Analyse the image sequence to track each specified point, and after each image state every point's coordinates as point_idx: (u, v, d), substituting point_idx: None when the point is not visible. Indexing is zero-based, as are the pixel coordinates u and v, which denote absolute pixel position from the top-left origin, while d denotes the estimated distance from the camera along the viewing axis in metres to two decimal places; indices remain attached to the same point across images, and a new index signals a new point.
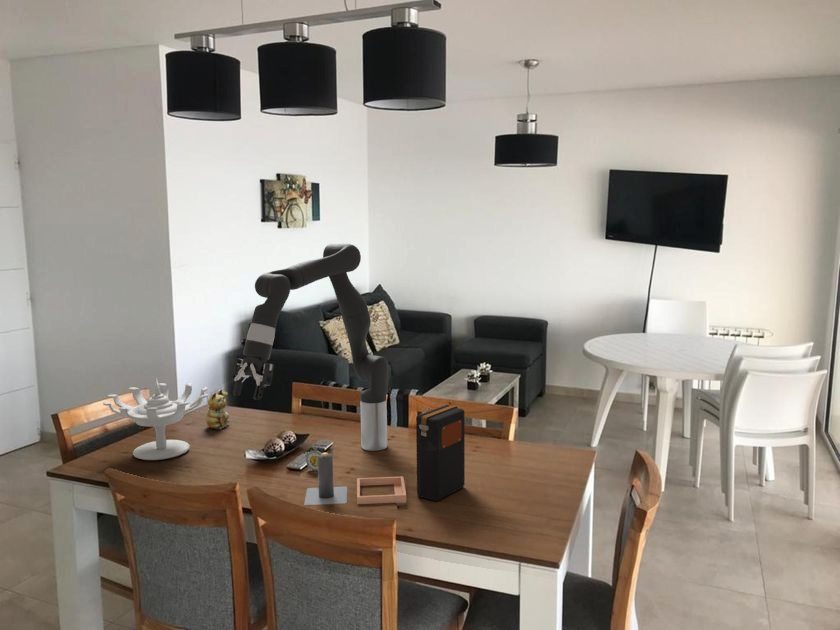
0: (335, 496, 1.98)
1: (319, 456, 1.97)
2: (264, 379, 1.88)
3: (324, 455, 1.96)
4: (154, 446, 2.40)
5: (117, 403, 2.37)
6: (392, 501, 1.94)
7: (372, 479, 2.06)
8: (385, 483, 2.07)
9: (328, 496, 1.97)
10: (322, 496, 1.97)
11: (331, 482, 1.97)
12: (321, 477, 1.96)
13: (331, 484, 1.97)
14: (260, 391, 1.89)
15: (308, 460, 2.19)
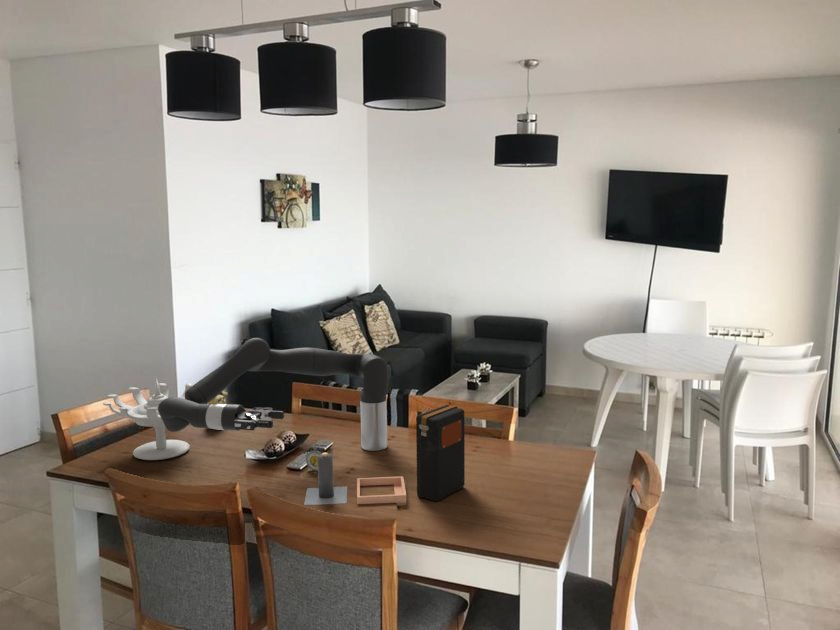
0: (335, 496, 1.98)
1: (319, 456, 1.97)
2: None
3: (324, 455, 1.96)
4: (154, 446, 2.40)
5: (117, 403, 2.37)
6: (392, 501, 1.94)
7: (372, 479, 2.06)
8: (385, 483, 2.07)
9: (328, 496, 1.97)
10: (322, 496, 1.97)
11: (331, 482, 1.97)
12: (321, 477, 1.96)
13: (331, 484, 1.97)
14: (263, 425, 1.91)
15: (308, 460, 2.18)
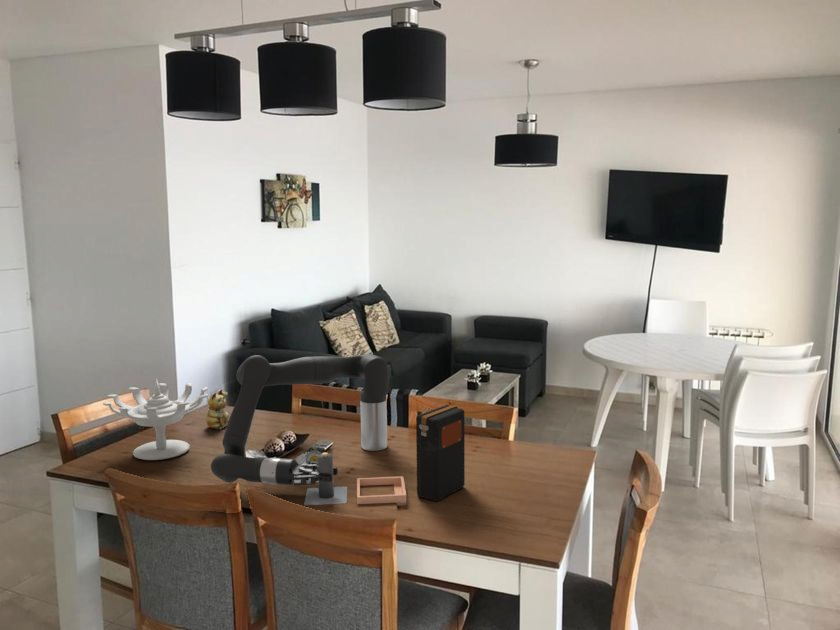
0: (335, 496, 1.98)
1: (319, 456, 1.97)
2: None
3: (324, 455, 1.96)
4: (154, 446, 2.40)
5: (117, 403, 2.37)
6: (392, 501, 1.94)
7: (372, 479, 2.06)
8: (385, 483, 2.07)
9: (328, 496, 1.97)
10: (322, 496, 1.97)
11: (331, 482, 1.97)
12: None
13: (331, 484, 1.97)
14: (323, 479, 1.95)
15: (308, 460, 2.18)
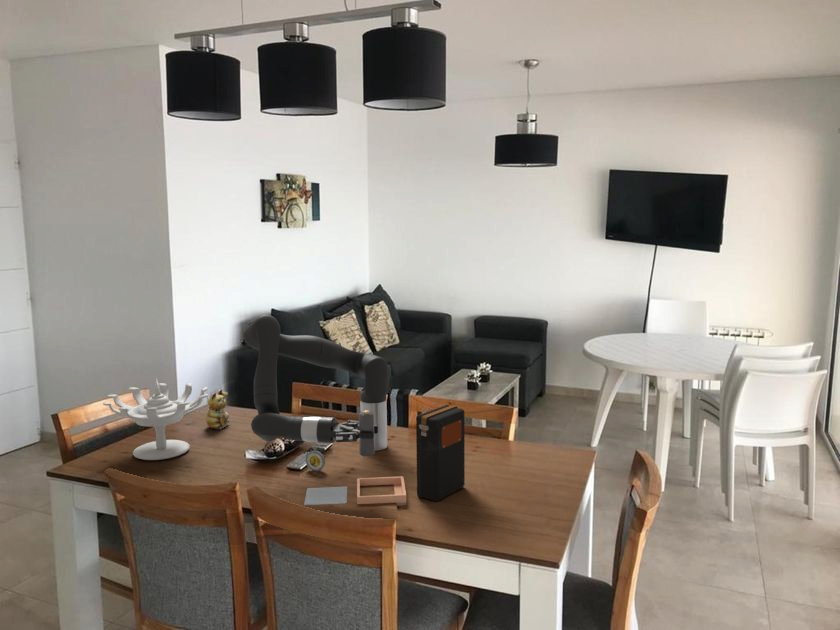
0: (335, 496, 1.98)
1: (360, 414, 1.96)
2: None
3: (365, 412, 1.96)
4: (154, 446, 2.40)
5: (117, 403, 2.37)
6: (392, 501, 1.94)
7: (372, 479, 2.06)
8: (385, 483, 2.07)
9: (369, 454, 1.96)
10: (363, 454, 1.96)
11: (372, 440, 1.96)
12: None
13: (373, 441, 1.97)
14: (364, 436, 1.94)
15: (308, 460, 2.18)
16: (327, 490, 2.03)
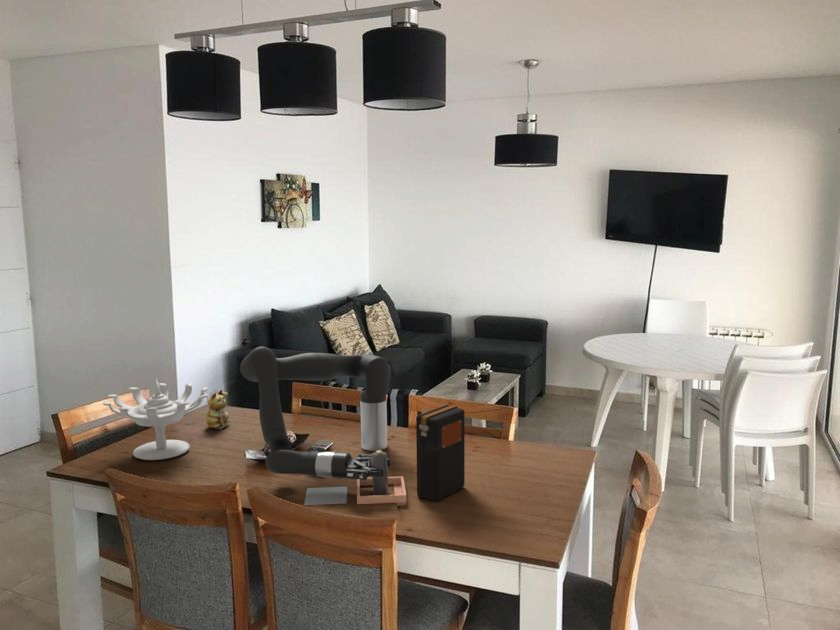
0: (335, 496, 1.98)
1: (373, 454, 1.99)
2: None
3: (378, 453, 1.98)
4: (154, 446, 2.40)
5: (117, 403, 2.37)
6: (392, 501, 1.94)
7: (372, 479, 2.06)
8: None
9: (383, 494, 1.98)
10: (377, 494, 1.98)
11: (386, 480, 1.99)
12: None
13: (386, 481, 1.99)
14: (375, 475, 1.94)
15: None
16: (327, 490, 2.03)
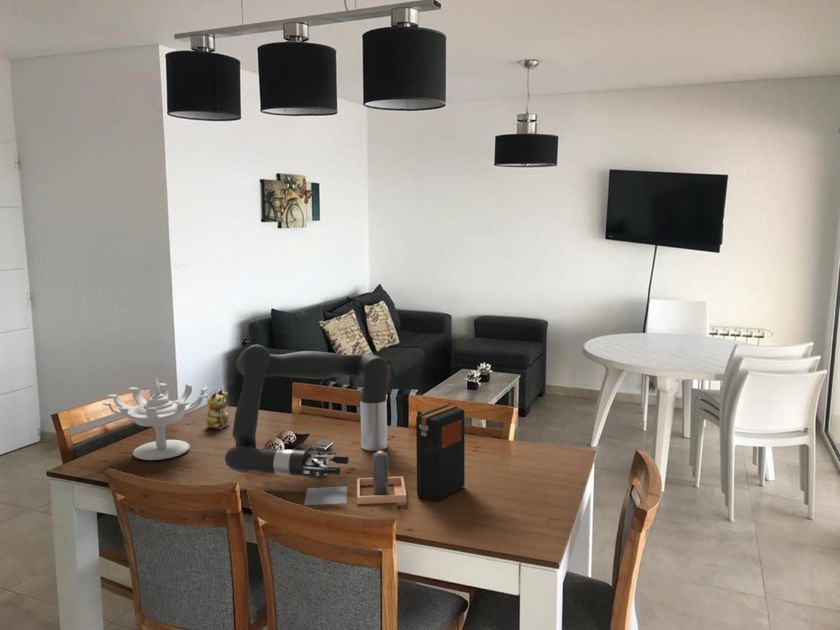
0: (335, 496, 1.98)
1: (374, 454, 1.99)
2: None
3: (379, 453, 1.98)
4: (154, 446, 2.40)
5: (117, 403, 2.37)
6: (392, 501, 1.94)
7: (372, 479, 2.06)
8: None
9: (383, 494, 1.98)
10: (377, 494, 1.98)
11: (386, 480, 1.99)
12: (377, 475, 1.98)
13: (386, 482, 1.99)
14: (331, 472, 1.96)
15: None
16: (327, 490, 2.03)
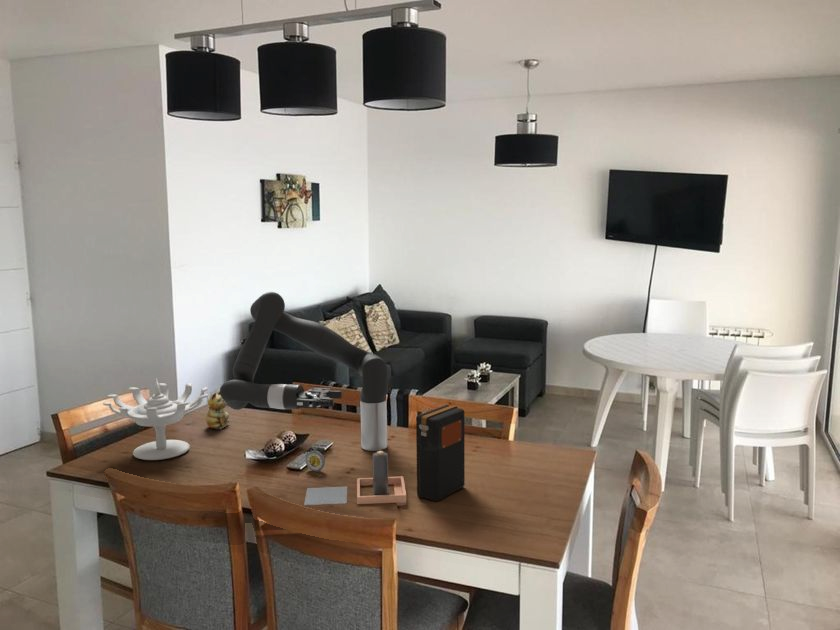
0: (335, 496, 1.98)
1: (374, 454, 1.98)
2: None
3: (380, 453, 1.98)
4: (154, 446, 2.40)
5: (117, 403, 2.37)
6: (392, 501, 1.94)
7: (372, 479, 2.06)
8: None
9: (383, 494, 1.98)
10: (377, 494, 1.98)
11: (386, 480, 1.99)
12: (377, 475, 1.97)
13: (386, 482, 1.99)
14: (324, 404, 1.98)
15: (308, 460, 2.18)
16: (327, 490, 2.03)
